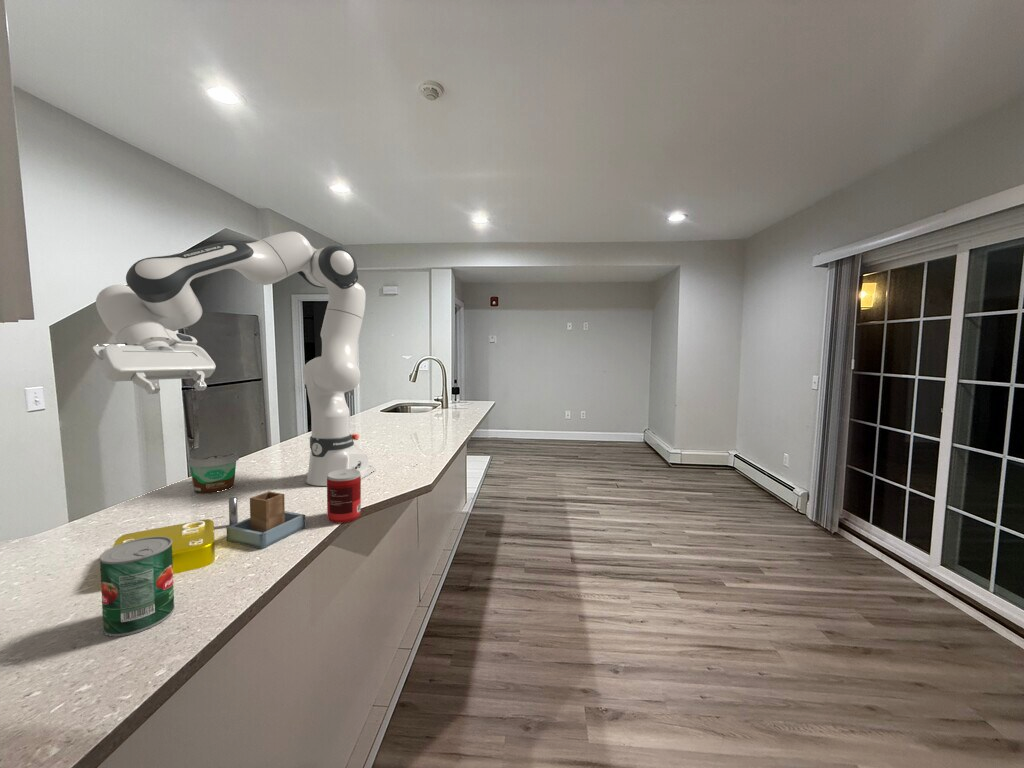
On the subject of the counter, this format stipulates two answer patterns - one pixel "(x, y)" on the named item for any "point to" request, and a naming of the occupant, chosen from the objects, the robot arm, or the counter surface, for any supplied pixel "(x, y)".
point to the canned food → (343, 495)
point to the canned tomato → (136, 585)
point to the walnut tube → (266, 511)
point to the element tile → (184, 543)
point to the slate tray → (262, 540)
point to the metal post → (233, 511)
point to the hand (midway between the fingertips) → (179, 390)
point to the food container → (213, 473)
